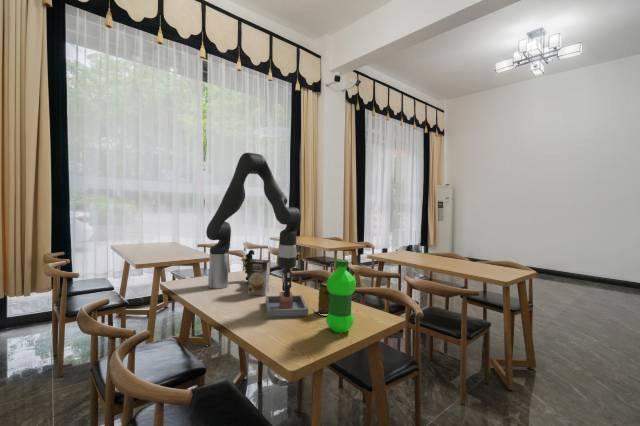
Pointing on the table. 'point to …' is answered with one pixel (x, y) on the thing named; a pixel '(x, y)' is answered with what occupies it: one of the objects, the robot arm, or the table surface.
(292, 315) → the tray
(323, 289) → the condiment
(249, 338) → the table surface
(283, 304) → the red block
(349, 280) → the plastic bottle
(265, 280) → the coffee box
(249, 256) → the toy figurine
